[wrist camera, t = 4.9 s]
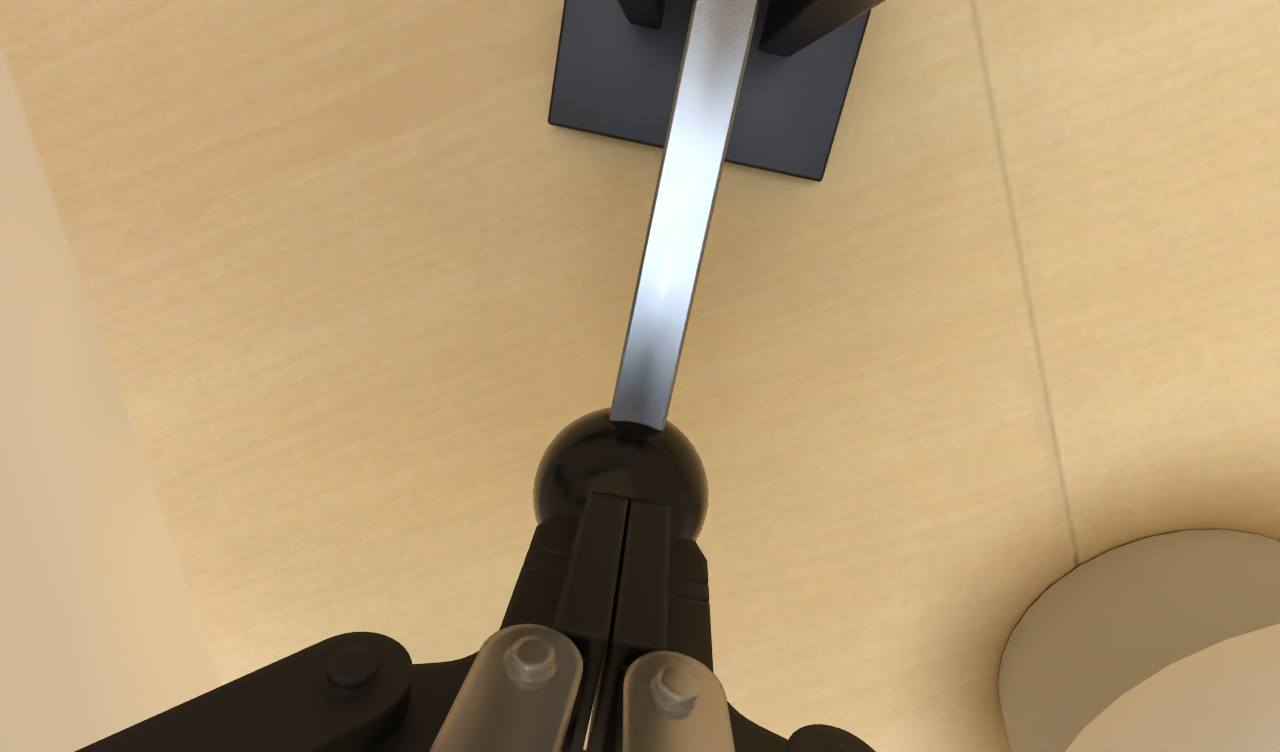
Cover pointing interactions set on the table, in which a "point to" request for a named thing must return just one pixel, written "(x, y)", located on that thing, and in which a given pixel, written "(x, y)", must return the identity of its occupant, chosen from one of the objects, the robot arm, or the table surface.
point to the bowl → (1152, 651)
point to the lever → (661, 299)
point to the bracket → (770, 91)
